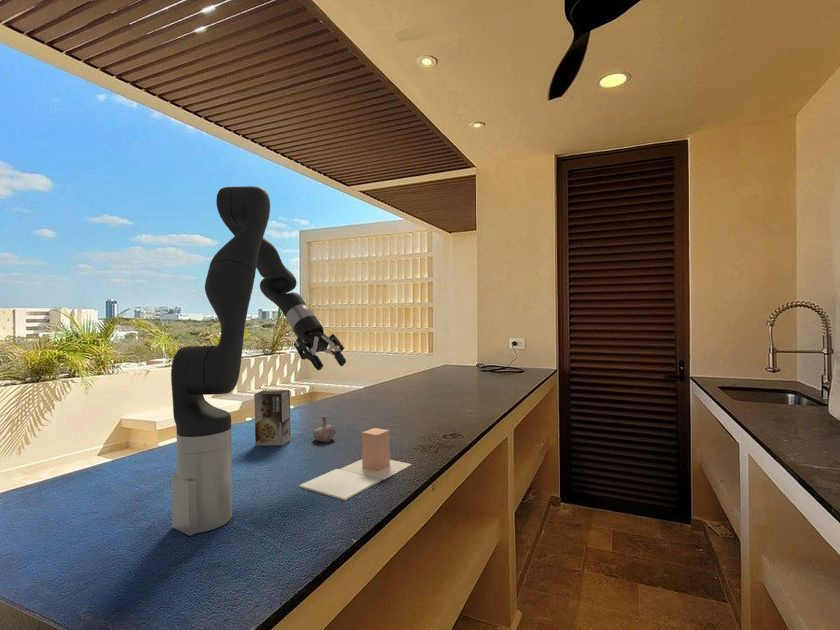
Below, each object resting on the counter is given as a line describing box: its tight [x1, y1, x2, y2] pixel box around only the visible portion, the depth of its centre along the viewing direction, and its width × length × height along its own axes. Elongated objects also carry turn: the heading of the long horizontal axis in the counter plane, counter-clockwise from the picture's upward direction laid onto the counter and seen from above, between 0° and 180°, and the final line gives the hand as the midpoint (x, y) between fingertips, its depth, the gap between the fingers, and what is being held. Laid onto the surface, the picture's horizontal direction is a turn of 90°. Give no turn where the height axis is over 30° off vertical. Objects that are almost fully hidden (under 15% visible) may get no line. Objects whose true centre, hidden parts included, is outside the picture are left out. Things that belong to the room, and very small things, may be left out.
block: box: [361, 427, 391, 471], centre depth 105 cm, size 5×5×9 cm
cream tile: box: [340, 458, 413, 481], centre depth 105 cm, size 12×14×1 cm
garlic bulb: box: [312, 415, 336, 443], centre depth 131 cm, size 8×7×8 cm
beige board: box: [298, 468, 382, 501], centre depth 94 cm, size 12×14×1 cm
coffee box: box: [253, 389, 292, 447], centre depth 129 cm, size 9×6×16 cm
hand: (332, 366), depth 113 cm, fingers open, 8 cm apart
